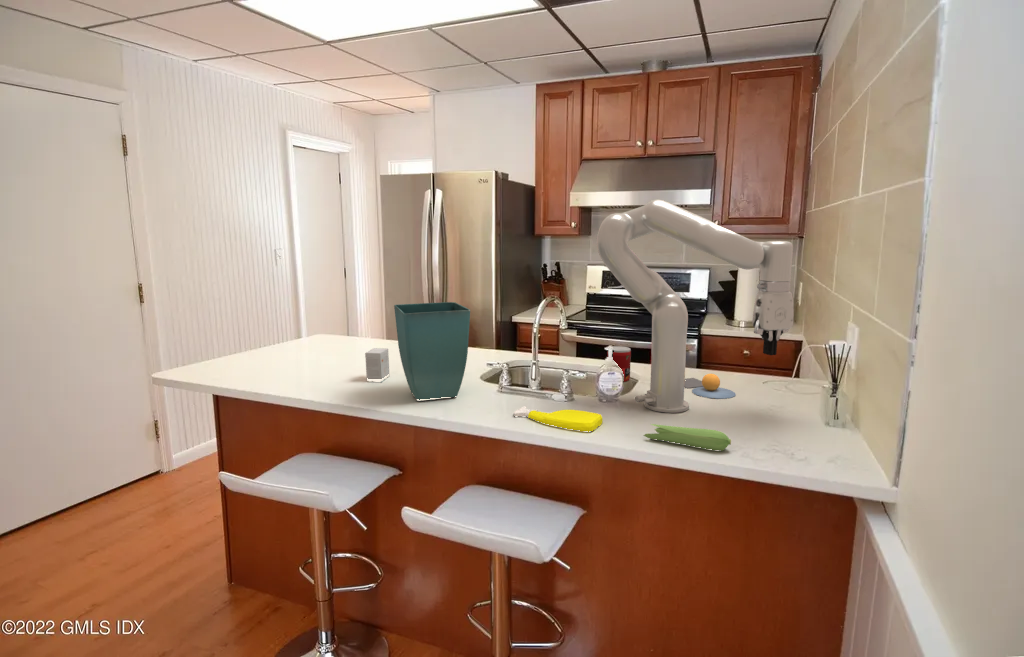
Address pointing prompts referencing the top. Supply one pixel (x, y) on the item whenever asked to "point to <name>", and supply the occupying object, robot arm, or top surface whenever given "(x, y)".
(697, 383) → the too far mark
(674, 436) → the edible corn
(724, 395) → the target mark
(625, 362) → the canned food
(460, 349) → the flower pot
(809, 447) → the top surface
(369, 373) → the small box
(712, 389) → the ball
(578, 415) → the spray bottle
